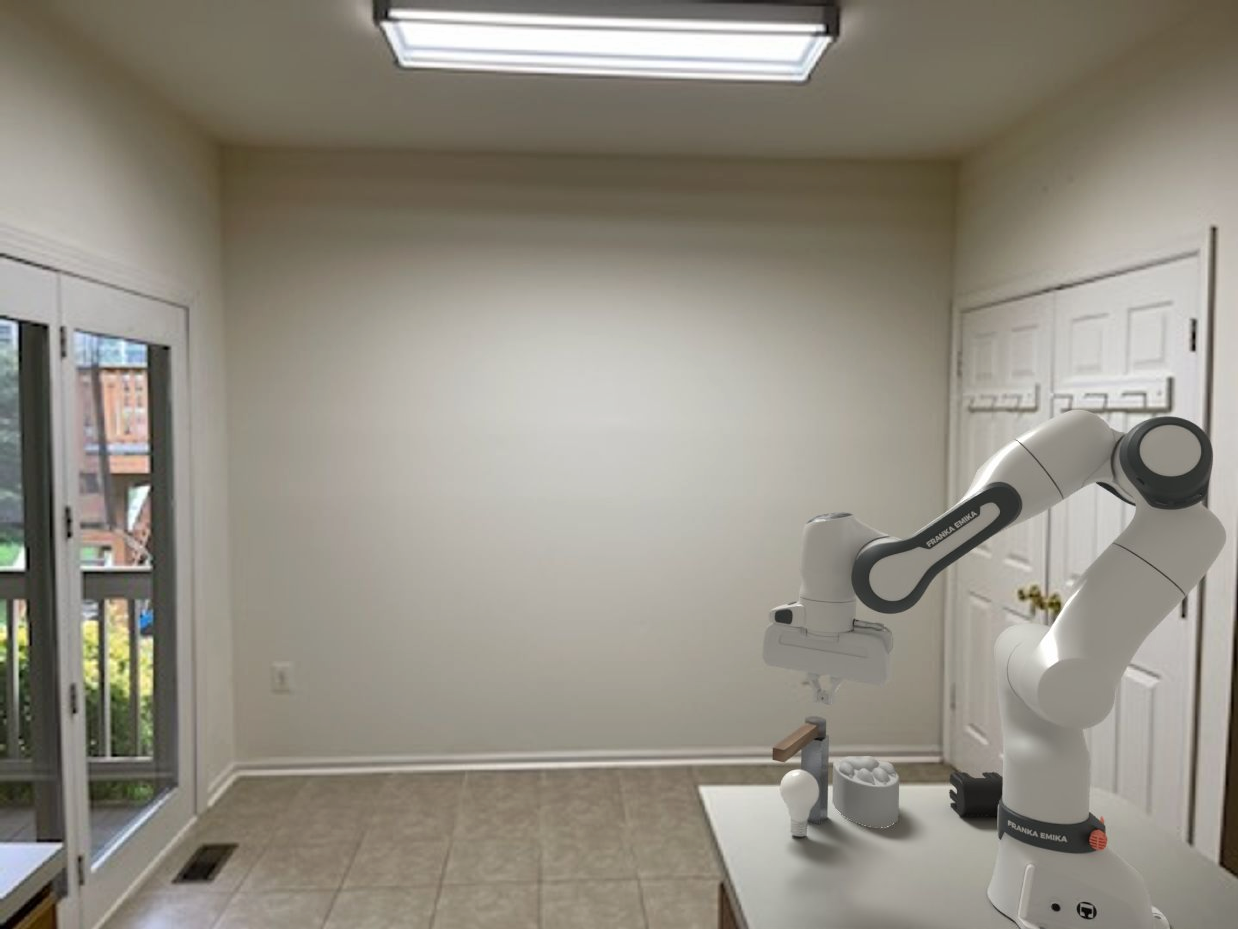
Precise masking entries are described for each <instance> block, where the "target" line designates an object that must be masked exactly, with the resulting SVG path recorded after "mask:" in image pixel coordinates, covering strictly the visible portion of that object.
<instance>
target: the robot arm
mask: <svg viewBox="0 0 1238 929" xmlns="http://www.w3.org/2000/svg"><path fill="white" fill-rule="evenodd" d="M1213 465H1214V450H1213V445H1212V443H1211V440H1210V438H1209V436H1208V435H1207V433H1206V432H1205V431H1204V430H1203V428H1201V427H1200V426H1199V425H1197V424H1196V423H1194V422H1193V421H1190V420H1188V419H1185V418H1182V417H1178V416H1177V417H1176V416H1173V415H1172V416H1170V415H1169V416H1168V415H1167V416H1166V415H1164V416H1157V417H1153V418H1152V417H1151V418H1148V419H1146V420H1143V421H1141V422H1140V423H1137V424H1136V425H1135V426H1133V427H1132V428H1131V429H1130V430H1129V431H1128V432H1124V431H1119V430H1116V429H1114V428H1112V427H1110V425H1109V424H1108V423H1107V422H1106V421H1105V420H1104V419H1102V418H1101V417H1100V416H1099V415H1097V414H1095V413H1093V412H1091V411H1089V410H1086V409H1081V408H1080V409H1071V410H1068V411H1066V412H1063V413H1061V414H1058V415H1055V416H1054V417H1052V418H1050V419H1046V420H1045V421H1044V422H1042V423H1040V424H1037V425H1036V426H1034V427H1032V428H1031V429H1029V430H1027V431H1025V432H1023V433H1022V434H1021V435H1018V436H1017V437H1016V438H1014V439H1012V440H1011V441H1010V442H1008V443H1007V444H1005V445H1004V446H1003V447H1001V448H999V450H997V451H996V452H995V453H994V454H992V455H991V456H990V457H989V458H988V459H987V460H986V461H985V462H984V463H983V464H982V465H981V466H980V467H979V468H978V469H977V471H976V473H975V474H974V477H973V480H972V482H971V484H970V486H969V488H968V490H967V491H966V493H965V494H964V495H963V497H962V498H961V499H960V500H959V501H958V502H957V503H955V505H953V506H952V507H950V509H948V510H947V511H946V512H944V513H943V514H940V515H939V516H938V517H936V518H935V519H934V520H932V521H930V522H929V523H928V524H927V525H925V526H923V527H922V528H920V529H919V530H918V531H916V532H914V533H913V534H912V535H910V536H908V537H906V538H903V539H901V538H900V537H896V536H893V535H890V534H887V533H885V532H882V531H880V530H877V529H876V528H874V527H871V526H870V525H868V524H866V523H864V522H863V521H861V520H860V519H858V517H856V516H855V515H854V514H852V513H851V512H843V511H842V512H832V513H824V514H820V515H816V516H814V517H812V518H810V519H809V520H808V521H807V523H806V524H805V525H804V526H803V530H802V535H801V541H800V542H801V543H800V553H799V571H800V574H801V575H800V576H801V584H800V589H799V591H798V601H792V602H789V603H785V604H782V605H778V606H776V607H774V608H772V609H770V610H769V612H768V620H769V622H770V623H769V624H768V625H767V626H766V629H765V630H764V634H763V642H762V660H763V661H764V664H765V665H766V666H768V667H774V668H779V669H786V670H792V671H797V672H802V673H806V674H807V676H806V677H807V678H806V679H807V683H808V684H809V687H810V688H811V690H812V691H813V702H815V703H820V704H823V705H824V704H825V705H830V706H833V705H835V702H836V692H838V689H839V688H840V687H841V685H843V682H844V680H845V681H851V682H857V683H862V684H863V683H864V684H869V685H872V686H873V685H875V686H880V687H881V686H884V685H885V684H887V683H888V682H889V681H891V679H892V677H893V662H892V653H891V651H892V650H893V648H894V633H893V632H892V631H891V629H890V628H888V627H887V626H885V625H884V623H881V622H873V621H867V620H862V619H857V598H858V599H859V601H860V602H861V603H862V604H863V605H864V606H866V607H867V608H869V609H870V610H872V611H874V612H876V613H879V614H887V615H894V614H900V613H903V612H906V611H908V610H909V609H912V608H913V607H914V606H915V605H916V604H917V603H918V602H919V601H920V600H921V598H923V595H924V594H925V593H926V590H927V589H928V588H929V586H930V584H931V582H932V581H933V580H934V579H935V577H937V576H938V574H940V573H941V572H942V571H943V570H945V569H946V568H948V567H949V566H951V565H952V564H953V563H955V562H957V561H958V560H959V559H960V558H962V557H963V556H965V555H967V554H968V553H969V552H971V551H972V550H974V549H975V548H977V547H979V545H982V544H983V543H984V542H986V541H987V540H989V539H990V538H992V537H994V536H995V535H998V534H999V533H1001V532H1003V531H1005V530H1007V529H1010V528H1013V527H1015V526H1017V525H1019V524H1021V523H1023V522H1025V521H1028V520H1029V519H1031V518H1034V517H1036V516H1038V515H1040V514H1042V513H1044V512H1046V511H1047V510H1049V509H1051V508H1052V507H1054V506H1056V505H1057V504H1060V503H1061V502H1062V501H1064V500H1065V499H1068V498H1069V497H1070V496H1071V495H1073V494H1075V493H1076V492H1078V491H1080V490H1081V489H1083V488H1085V487H1087V486H1089V485H1091V484H1095V483H1096V485H1098V486H1099V487H1100V488H1103V489H1104V490H1106V491H1108V492H1109V493H1111V494H1112V495H1114V496H1115V497H1116V498H1118V499H1119V500H1121V501H1122V502H1124V503H1126V504H1129V505H1130V506H1133V507H1135V512H1134V515H1133V518H1132V520H1131V521H1130V522H1129V524H1128V525H1127V526H1126V528H1125V529H1124V530H1123V531H1122V532H1121V533H1119V535H1118V536H1117V537H1116V538H1115V539H1114V540H1113V541H1112V542H1111V543H1110V544H1109V545H1108V546H1107V548H1105V549H1104V550H1103V552H1102V553H1101V554H1100V555H1099V556H1098V557H1097V558H1096V559H1095V560H1094V561H1093V562H1092V563H1091V564H1090V565H1089V566H1088V567H1087V568H1086V569H1085V571H1084V572H1082V574H1081V575H1080V576H1079V577H1077V579H1076V580H1075V581H1074V582H1073V584H1072V585H1071V588H1070V590H1069V594H1068V597H1067V600H1066V602H1065V604H1064V605H1063V607H1062V609H1061V610H1060V612H1059V614H1058V615H1057V617H1056V618H1055V620H1054V622H1053V623H1052V624H1051V626H1049V625H1046V624H1041V623H1037V622H1035V623H1033V622H1021V623H1020V622H1019V623H1016V624H1013V625H1010V626H1009V627H1007V628H1005V629H1004V630H1003V631H1002V632H1001V633H1000V634H999V635H998V636H997V638H996V641H995V643H994V646H993V658H994V664H995V673H996V688H997V701H998V710H999V717H1000V718H999V719H1000V726H1001V734H1002V751H1003V752H1002V754H1003V755H1002V761H1003V762H1002V777H1003V789H1002V796H1001V799H1000V800H999V805H998V815H997V816H996V818H997V820H996V822H997V823H996V824H997V826H996V827H997V829H996V830H997V833H998V834H997V836H998V839H999V843H998V848H997V850H998V851H997V855H996V861H995V866H994V869H993V873H992V877H991V879H990V883H989V885H988V888H987V894H986V895H987V897H988V899H989V901H990V902H991V904H992V905H993V906H994V907H995V908H996V909H997V910H998V911H1000V912H1001V913H1002V914H1004V915H1005V916H1006V917H1008V918H1010V919H1011V920H1013V921H1014V922H1015V923H1016V925H1017V926H1018V927H1019V928H1020V929H1171V925H1170V923H1169V921H1168V919H1167V917H1166V916H1165V915H1164V913H1163V912H1162V911H1161V910H1159V909H1158V908H1157V907H1155V906H1153V904H1152V900H1151V896H1150V893H1149V892H1150V891H1149V889H1148V886H1147V884H1146V881H1145V879H1144V878H1143V876H1142V875H1141V874H1140V872H1139V871H1137V870H1136V869H1135V868H1134V867H1132V866H1131V865H1130V864H1129V863H1128V862H1126V860H1124V859H1123V858H1122V857H1121V856H1119V855H1118V854H1117V853H1116V851H1114V850H1113V849H1112V848H1111V847H1109V846H1108V844H1107V843H1108V837H1107V832H1106V830H1107V829H1106V825H1105V819H1104V817H1103V816H1100V819H1099V818H1098V817H1096V815H1094V814H1093V813H1092V812H1090V796H1091V795H1090V792H1091V790H1090V789H1091V756H1090V752H1089V749H1088V746H1087V742H1086V738H1085V733H1084V730H1086V729H1087V730H1088V729H1090V728H1093V727H1095V726H1097V725H1099V724H1100V723H1102V721H1104V720H1105V719H1106V718H1107V717H1108V716H1109V715H1110V713H1111V711H1112V710H1113V707H1114V705H1115V700H1116V689H1117V687H1118V685H1119V682H1120V681H1121V679H1122V677H1123V676H1124V673H1125V672H1126V670H1127V669H1128V668H1129V667H1128V666H1129V665H1130V663H1131V661H1132V660H1133V658H1134V656H1135V654H1137V651H1138V650H1139V648H1140V647H1141V646H1142V644H1143V643H1144V642H1145V640H1146V639H1147V638H1148V636H1149V635H1150V634H1151V633H1152V632H1153V631H1154V630H1155V629H1156V628H1157V627H1158V626H1159V625H1160V624H1161V622H1163V621H1164V620H1165V619H1166V617H1167V616H1168V615H1169V614H1170V613H1171V612H1173V610H1174V609H1175V608H1176V607H1177V606H1178V605H1179V604H1180V603H1181V602H1182V601H1183V600H1184V599H1185V598H1186V597H1187V596H1188V594H1190V593H1191V591H1192V590H1194V588H1195V587H1196V586H1197V585H1198V583H1199V582H1201V580H1202V579H1203V577H1205V575H1206V574H1207V573H1208V571H1209V570H1210V568H1212V566H1213V564H1214V563H1215V561H1216V559H1217V558H1218V556H1219V555H1220V553H1221V552H1222V550H1223V548H1224V547H1225V544H1226V541H1227V532H1226V530H1225V529H1226V528H1225V527H1224V525H1223V523H1222V521H1220V519H1219V518H1218V516H1217V515H1216V514H1214V513H1213V512H1212V511H1211V510H1210V509H1208V507H1206V506H1204V505H1203V504H1202V501H1204V500H1205V499H1206V498H1207V496H1208V492H1209V487H1210V486H1209V485H1210V481H1211V480H1210V479H1211V476H1212V471H1213ZM821 676H822V677H823V676H824V677H829V684H832V686H831V687H830V689H829V690H826V689H823V688H822V687H821V683H820V682H819V678H821Z"/></svg>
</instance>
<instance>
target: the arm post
mask: <svg viewBox="0 0 1238 929" xmlns="http://www.w3.org/2000/svg"><path fill="white" fill-rule="evenodd" d="M800 751H801V754H800V756H801V757H800V770H804V771H807V772H809V773H810V774H811V775H813V777H814V778H815V779H816V781H817V783H818V786H819V797H818V800H817V802H816V803H815V805H814V806H813V807H812V809H811V811H810V814H809V818H808V819H807V822H810V823H813V822H814V824H816V823H817V825H821V824H822V823H823V822H824V821H825V820H826V819H827V818H828V813H829V812H828V811H829V810H828V808H829V803H828V802H829V801H828V800H829V764H830V762H829V759H830V758H829V756H830V755H829V752H830V735H828V734H826V737H824V738H815V739H814V740H813V741H811V742H810V743H809V744H807V745H806V746H805V747H804V748H802V749H801V750H800ZM826 817H827V818H826ZM821 822H822V823H821Z"/></svg>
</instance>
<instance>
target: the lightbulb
mask: <svg viewBox="0 0 1238 929" xmlns="http://www.w3.org/2000/svg"><path fill="white" fill-rule="evenodd" d="M779 791H780V797H781V798H782V800H783V802H784V804H785V805H786V808H787V810H788V815H789V817H790V833H791V834H792V835H793V836H795V837H797V838H802V837H805V836H807V835H808V821H807V819H808V818H809V814H810V811H811V809H812V807H813V806H814V805H815V803H816V802H817V800H818V797H819V786H818V783H817V781H816V779H815V778H814V777H813V775H811V774H810V773H809V772H807V771H804V770H801V768H800V769H799V768H798V769H792V770H790V771H788V772H787V773H786V774H784V776H783V777H782V779H781V781H780V786H779Z"/></svg>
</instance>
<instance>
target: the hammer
mask: <svg viewBox="0 0 1238 929" xmlns="http://www.w3.org/2000/svg"><path fill="white" fill-rule="evenodd" d="M826 735H827V719H826V718H824V717H821V716H815V715H811V716H810V715H809V716H806V717H805V718H804V724H803V725H801V726H800V727H798V728H797V729H796V730H795V731H793V732H791V734H789V735H787V736H786V737H785V738H784V739H782V740H781V741H780V742H778V743H776V745H774V746H773V747H772V761H776V762H780V763H786V762H787V761H788V760H790V759H791V758H792V757H793V756H795V755H796V754H797V753H799V752H800V751H801V749H802V748H804V747H805V746H806V745H807V744H809V743H810V742H811V741H813V740H814V739H815V738H824V737H826Z"/></svg>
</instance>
